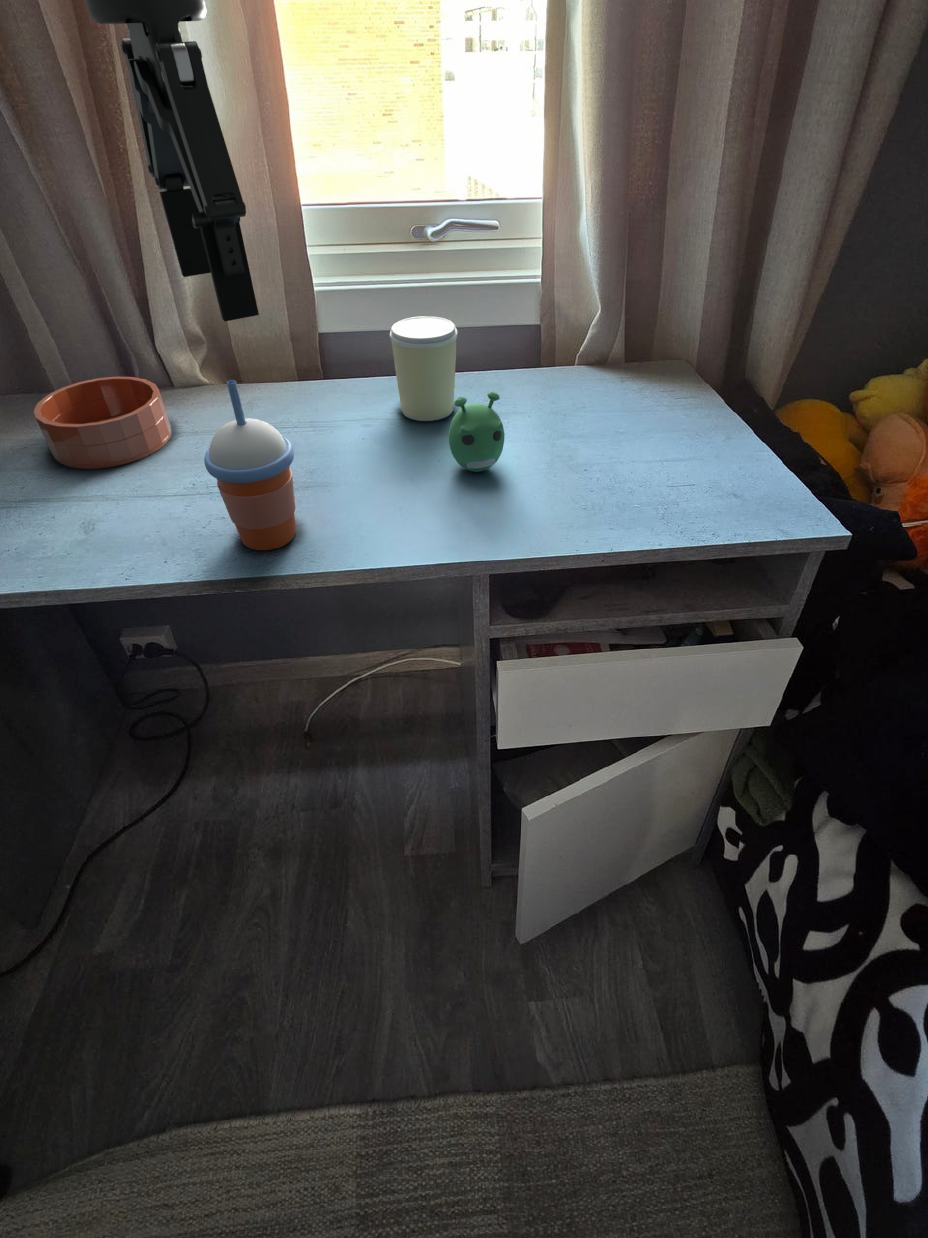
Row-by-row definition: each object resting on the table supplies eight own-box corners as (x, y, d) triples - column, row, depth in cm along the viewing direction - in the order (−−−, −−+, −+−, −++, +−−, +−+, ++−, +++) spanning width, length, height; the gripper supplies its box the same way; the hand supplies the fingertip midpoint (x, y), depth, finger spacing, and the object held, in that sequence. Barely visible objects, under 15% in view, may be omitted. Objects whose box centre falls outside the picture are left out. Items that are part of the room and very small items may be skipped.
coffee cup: (429, 390, 107) (425, 310, 99) (471, 408, 102) (471, 325, 94) (383, 410, 102) (375, 327, 94) (425, 430, 97) (421, 344, 89)
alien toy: (459, 488, 86) (457, 412, 79) (443, 459, 91) (441, 386, 84) (512, 480, 87) (515, 404, 80) (494, 451, 92) (495, 379, 86)
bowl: (61, 480, 88) (41, 437, 84) (46, 432, 98) (28, 392, 94) (183, 449, 94) (170, 407, 90) (157, 407, 104) (145, 368, 100)
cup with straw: (324, 537, 78) (296, 383, 66) (251, 569, 74) (207, 411, 62) (284, 504, 83) (252, 356, 71) (214, 533, 79) (167, 380, 67)
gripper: (245, -75, 37) (311, 329, 51) (152, -49, 53) (222, 252, 67) (98, -77, 34) (211, 349, 49) (47, -49, 51) (143, 265, 65)
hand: (217, 294), depth 58 cm, fingers open, 13 cm apart
